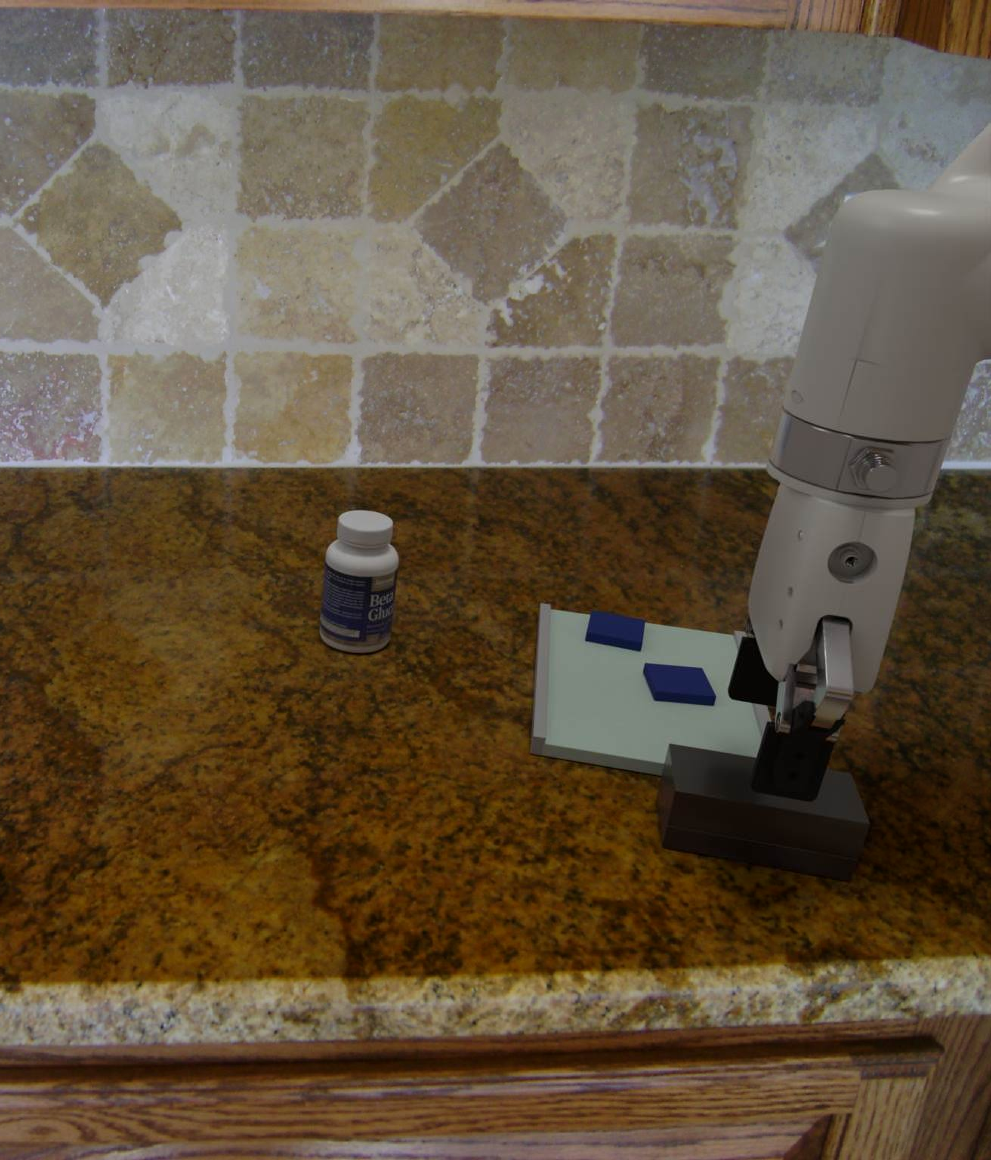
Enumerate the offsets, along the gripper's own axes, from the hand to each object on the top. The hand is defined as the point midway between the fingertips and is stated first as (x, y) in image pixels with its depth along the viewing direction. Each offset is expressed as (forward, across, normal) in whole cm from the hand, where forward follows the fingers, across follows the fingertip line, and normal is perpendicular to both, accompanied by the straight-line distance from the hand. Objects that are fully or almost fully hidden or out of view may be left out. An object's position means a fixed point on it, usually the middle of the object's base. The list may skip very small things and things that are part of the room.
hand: (767, 744), depth 65 cm
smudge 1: (+5, +22, +6) cm, 24 cm away
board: (+6, +15, +4) cm, 17 cm away
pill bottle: (+7, +17, +26) cm, 32 cm away
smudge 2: (+5, +15, +2) cm, 16 cm away
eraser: (+6, 0, 0) cm, 7 cm away
